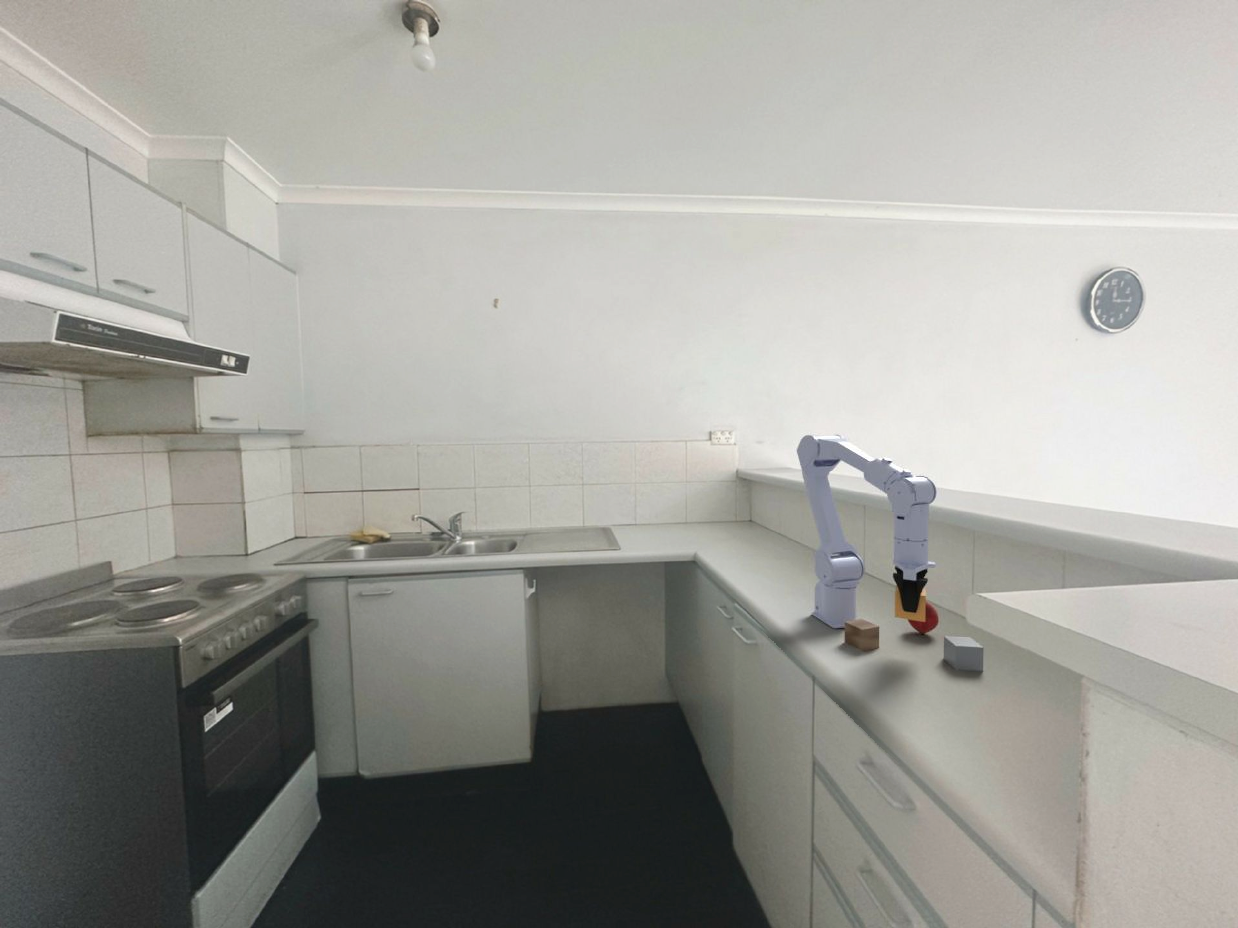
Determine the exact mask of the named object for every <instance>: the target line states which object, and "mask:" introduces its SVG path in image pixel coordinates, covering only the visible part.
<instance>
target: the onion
mask: <svg viewBox="0 0 1238 928" xmlns="http://www.w3.org/2000/svg"><path fill="white" fill-rule="evenodd" d="M907 622H908V623H909V625H910V626H911V627H912V628H913V629H914V630H915V631H916V632H918V633H919V634H921V635H924V634H927V633H930V632H932V631H933V630H935V629H936V628H937V626H939V625H938V624H939V614H938V612H937V610H936V609H935V608H934V606H933V605H931V604H930V603H929V602H927V601H926V607H925V622H922V621H916V620H909V619H907Z"/></svg>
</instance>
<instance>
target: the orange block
mask: <svg viewBox="0 0 1238 928" xmlns="http://www.w3.org/2000/svg"><path fill="white" fill-rule="evenodd" d="M894 590H895V591H894V618H899V619H905V620H908V619H909V620H916V621H922V622H925V607H926V602H927V600H926V599H927V595H926V594H927V593H926V592H927V591H926V588H923V590H922V592H921V596H920V600H919V605H918V609H917V612H916V613H912V612H906V611H904V610H903V607H902V603H901V597H900V593H899V589H898V587H897V584H896V585H895V589H894Z"/></svg>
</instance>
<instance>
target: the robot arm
mask: <svg viewBox="0 0 1238 928" xmlns="http://www.w3.org/2000/svg"><path fill="white" fill-rule="evenodd" d="M796 454H797V457H798V461H799V464H800V465H799V466H800V469H801V473H802V474H801V475H802V479H803V482H804V485H805V486H804V487H805V490H806V493H807V497H808V501H809V505H810V508H811V512H812V515H813V519H814V523H815V527H816V530H817V535H818V538H819V541H820V545H819V546H818V548H817V549H816V550H815V551H814V553H813V558H814V573H815V576H816V577H817V579H818V581H817V583H815V586H814V611H811V613H810V614H811V615H812V616H814V617H815V618H817V619H819V620H820V621H822V622H823V623H825V624H826V625H828V626H829V627H831V628H832V629H845V622H846V621H851V620H857V619H858V618H857V610H858V608H857V607H858V605H857V602H858V601H857V598H858V596H857V595H858V593H857V591H858V585H859V584H860V580H862V579H863V577H865V574H866V567H865V562H864V561H863V559H862V558H861V556H860V555H859V553H858V550H857V547H856V546H855V545H853V544H852V543H850V542H849V541H848V540H847V539H846V537H845V534H844V530H843V527H842V523H841V520H840V517H839V513H838V510H837V505H836V503H835V500H834V499H835V498H834V496H833V495H834V494H833V493H832V488H831V486H830V482H829V477H828V476H829V474H830V473H831V472H832V471H834V469H836V467H837V466H838V465H839V464H840V463H841V462H844V463H845V464H847V465H849V466H851V467H853V468H855V469H857V470H858V471H860V472H862V473H863V478H864V480H865V481H866V482H867V483H869V484H870V485H872V486H873V487H875V488H876V489H878V490H880V492H881V491H882V492H883V493H884V494H886V495H887V496H886V497H887V499H888V501H889V502H890V504H891V512H892V513H893V517H894V519H893V521H894V522H893V558H892V564H893V565H894V570H895V572H893V573H892V578H893V581H894V582H895V584H896V585H897V587H898V589H899V593H900V597H901V603H902V607H903V610H904V611H906V612H912V613H916V612H917V609H918V605H919V600H920V596H921V592H922V590H923V589H925V586H926V585H927V583H928V580H929V578H928V577H927V578H926V575H927V573H928V570H929V569H928V568H932V569H933V568H936V562H935V561H929V530H930V529H929V527H930V525H929V520H930V519H929V516H930V514H929V513H930V505H931V504H932V503H933V502H934V501H935V499H936V497H937V487H936V484H935V483H934V482H933V481H932V480H931V479H930V478H929V477H927V476H926V475H916V476H914V475H913V473H912V472H911V471H910V470H908V469H903V468H901V467H899V466H897V465H896V464H894V463H893V460H892V459H890V458H889V457H877V458H872V457H871V456H870V455H868V454H866V453H865V452H864V451H862V450H861V449H860V448H858V447H857V446H855V445H854V444H852V443H850V441H849V438H846V437H843V435H841V434H833V435H830V434H829V435H826V434H825V435H812V434H807V435H804V436H803V437H802V438H801V439H800V441H799V443H798V446H797V449H796Z"/></svg>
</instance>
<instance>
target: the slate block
mask: <svg viewBox="0 0 1238 928" xmlns="http://www.w3.org/2000/svg"><path fill="white" fill-rule="evenodd" d="M984 650H985V649H984V646H982V645H981V644H980V643H979V642H977V641H975V639H973V638H972V637H970V636H955V635H954V636H951V635H950V636H949V635H944V636H943V659H944V660H945V661H946V662H947V663H948V664H949V665H950V666H952V668H953V669H954V670H957V671H973V672H974V671H976V672H984Z"/></svg>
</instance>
